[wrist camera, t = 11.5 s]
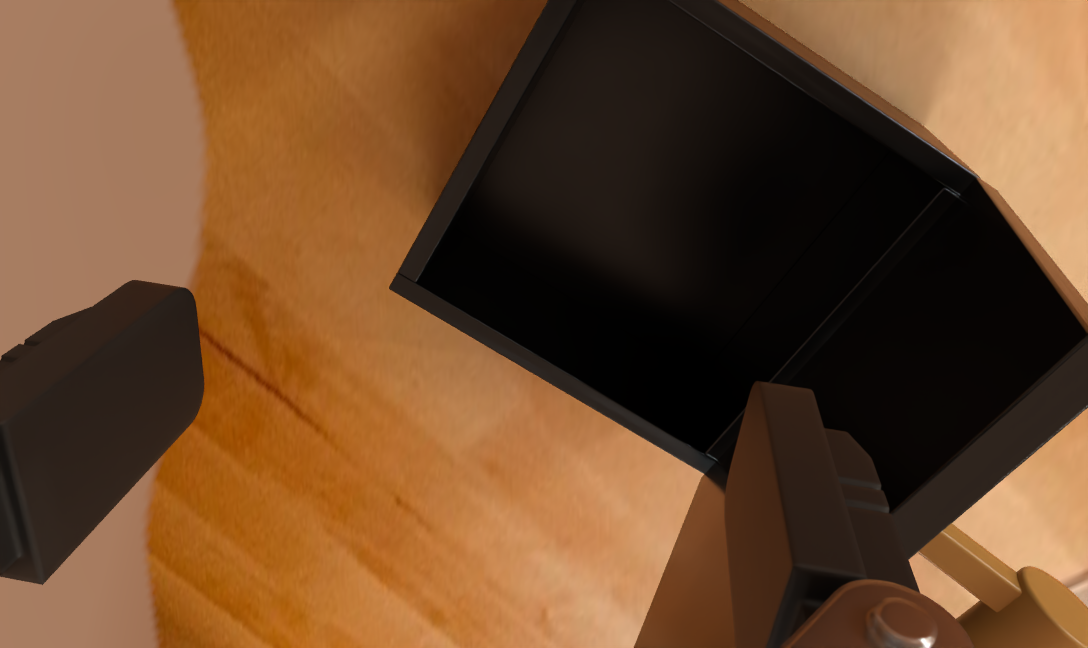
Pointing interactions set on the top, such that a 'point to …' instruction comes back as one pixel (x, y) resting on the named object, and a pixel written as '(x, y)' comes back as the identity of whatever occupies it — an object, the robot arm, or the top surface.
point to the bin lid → (929, 423)
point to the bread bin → (673, 212)
